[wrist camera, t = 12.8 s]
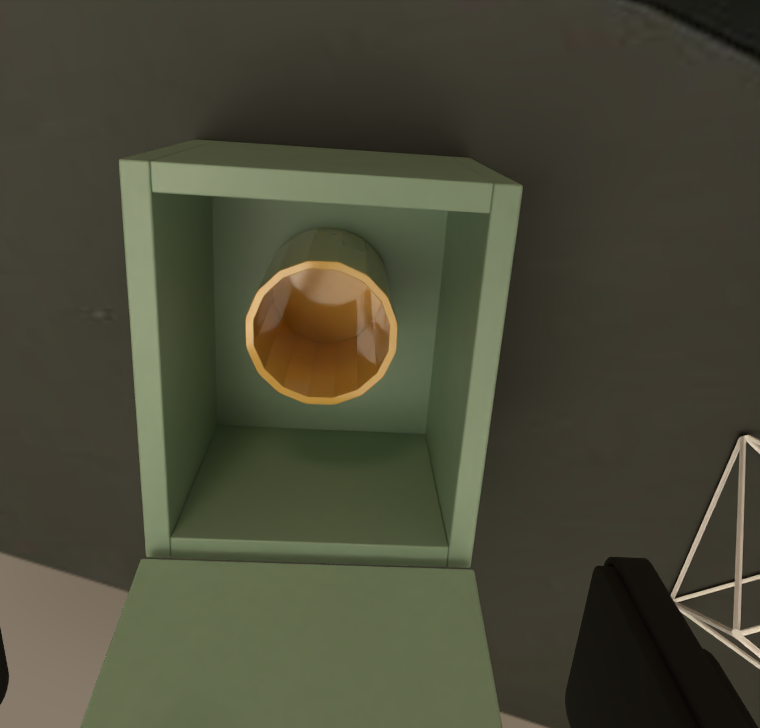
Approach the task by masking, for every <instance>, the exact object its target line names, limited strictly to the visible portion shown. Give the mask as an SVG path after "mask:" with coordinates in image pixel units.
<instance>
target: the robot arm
mask: <svg viewBox="0 0 760 728" xmlns="http://www.w3.org/2000/svg"><path fill="white" fill-rule="evenodd" d="M8 681H9V672H8V667H7V661H6V656H5V650H4V645H3V640H2V634H1V629H0V704H1V703H2V701H3V699H4V697H5V694H6V691H7V686H8ZM565 705H566V713H567V717H568V720H569V724H570V727H571V728H758V726H757V725H756V723H755V722H754V720H753V718H752V717H751V715H750V713H749V712H748V710H747V709H746V707H745V705H744V704H743V702H742V700H741V699H740V697H739V695H738V694H737V692H736V691H735V689H734V687H733V686H732V684H731V682H730V681H729V679H728V678H727V676H726V674H725V673H724V671H723V669H722V668H721V666H720V664H719V663H718V661H717V660H716V659H715V658H714V656H713V655H712V654H711V653H710V652H708V651H707V650H705V649H702V647H701V646H700V644H699V642H698V641H697V639H696V637H695V636H694V634H693V632H692V631H691V629H690V627H689V626H688V624H687V622H686V621H685V619H684V617H683V616H682V614H681V612H680V611H679V609H678V607H677V606H676V604H675V602H674V601H673V599H672V597H671V596H670V594H669V592H668V591H667V589H666V587H665V586H664V584H663V582H662V581H661V579H660V577H659V576H658V574H657V572H656V571H655V569H654V567H653V566H652V564H651V563H650V562H649V560H647V559H645V558H626V557H609V558H608V559H607V560H606V561H605V564H604V566H596V567H595V569H594V571H593V575H592V579H591V583H590V588H589V592H588V597H587V601H586V605H585V610H584V614H583V618H582V623H581V627H580V632H579V636H578V640H577V645H576V649H575V653H574V658H573V662H572V667H571V671H570V675H569V680H568V684H567V688H566V694H565Z"/></svg>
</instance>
